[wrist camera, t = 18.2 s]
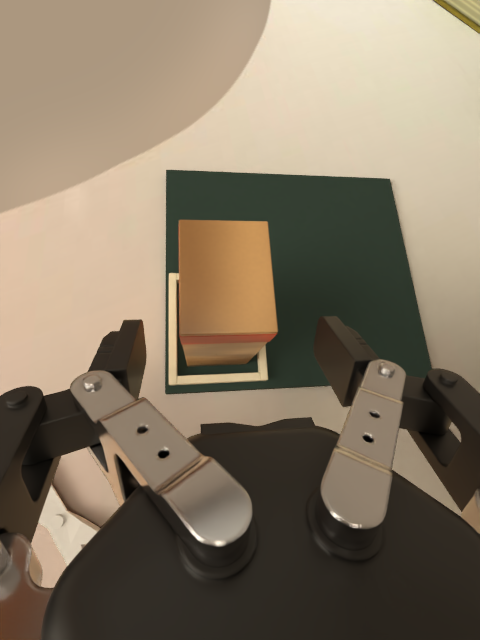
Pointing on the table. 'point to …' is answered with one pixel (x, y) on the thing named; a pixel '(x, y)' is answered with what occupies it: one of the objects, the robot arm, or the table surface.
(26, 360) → the table surface
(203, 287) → the box
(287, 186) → the mat
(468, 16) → the hardcover book
